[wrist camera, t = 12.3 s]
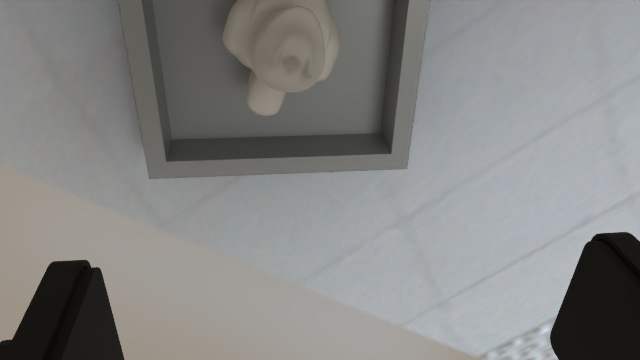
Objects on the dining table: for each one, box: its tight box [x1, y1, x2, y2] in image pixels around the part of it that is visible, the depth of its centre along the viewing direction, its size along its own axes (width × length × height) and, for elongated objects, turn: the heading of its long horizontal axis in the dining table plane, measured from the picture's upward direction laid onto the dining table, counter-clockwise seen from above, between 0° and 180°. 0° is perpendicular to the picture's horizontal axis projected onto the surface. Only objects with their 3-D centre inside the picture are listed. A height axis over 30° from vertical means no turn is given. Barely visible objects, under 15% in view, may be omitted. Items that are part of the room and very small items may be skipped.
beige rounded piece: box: [222, 0, 340, 116], centre depth 23 cm, size 5×7×8 cm
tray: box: [118, 0, 430, 179], centre depth 26 cm, size 14×14×4 cm
